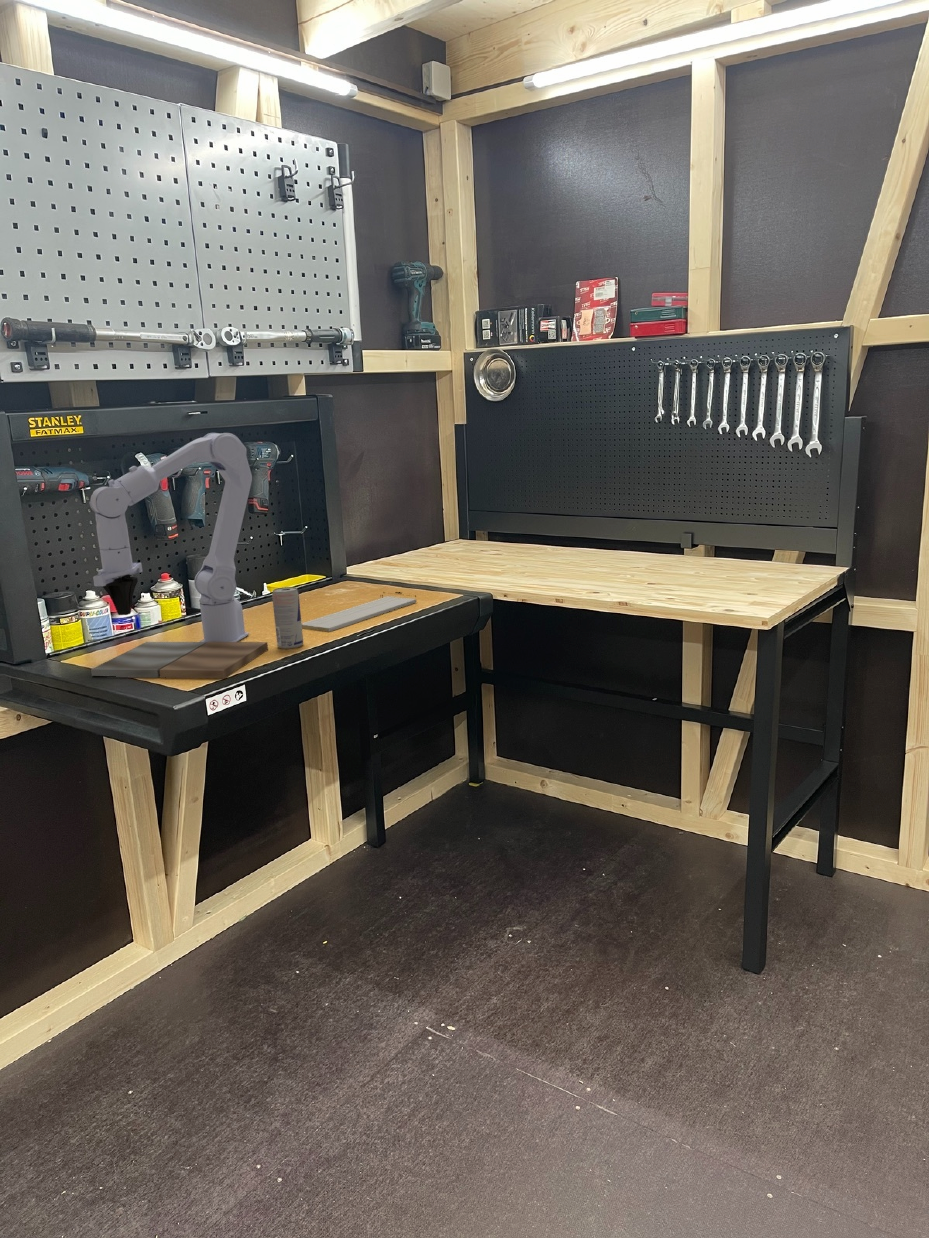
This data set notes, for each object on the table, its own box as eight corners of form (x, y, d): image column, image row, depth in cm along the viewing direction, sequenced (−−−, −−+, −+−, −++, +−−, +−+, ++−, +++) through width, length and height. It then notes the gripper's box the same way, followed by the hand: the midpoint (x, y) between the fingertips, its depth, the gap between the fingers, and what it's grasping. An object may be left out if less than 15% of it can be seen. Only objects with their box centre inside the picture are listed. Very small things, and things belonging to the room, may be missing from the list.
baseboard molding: (290, 629, 209) (329, 635, 202) (289, 616, 208) (328, 622, 201) (379, 601, 233) (417, 605, 226) (378, 589, 232) (416, 593, 225)
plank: (147, 648, 196) (146, 641, 195) (208, 648, 193) (207, 641, 192) (92, 676, 177) (90, 669, 176) (158, 677, 174) (157, 669, 173)
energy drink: (305, 641, 194) (299, 586, 192) (301, 648, 189) (296, 591, 186) (279, 643, 194) (274, 587, 192) (275, 649, 189) (269, 592, 186)
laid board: (210, 649, 192) (209, 641, 192) (268, 649, 190) (267, 642, 189) (160, 677, 174) (159, 669, 173) (224, 678, 171) (223, 670, 170)
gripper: (116, 542, 191) (125, 606, 194) (75, 554, 177) (85, 623, 180) (147, 541, 189) (156, 605, 193) (108, 553, 176) (118, 622, 179)
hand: (124, 614), depth 186 cm, fingers closed
